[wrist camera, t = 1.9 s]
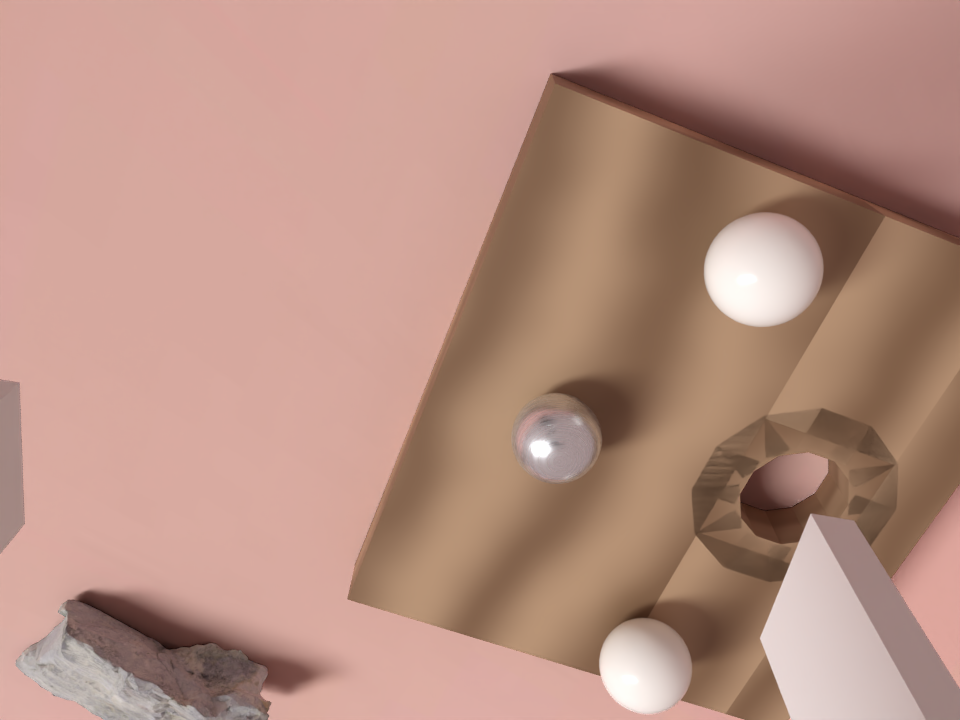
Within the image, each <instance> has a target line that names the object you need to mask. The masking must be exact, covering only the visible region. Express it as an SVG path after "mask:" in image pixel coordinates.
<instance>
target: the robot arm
mask: <svg viewBox="0 0 960 720" xmlns="http://www.w3.org/2000/svg"><path fill="white" fill-rule="evenodd" d="M24 524H25V517H24V490H23V463H22V436H21V409H20V383H19V382H13V381H7V380H1V379H0V554H1V552H2V551H3V550H4V549H5V548H6V546H7V545H8V544H9V543H10V541H11V540H12V539H13V538H14V536H15V535H16V534H17V533H18V532H19V530H20V529H21V528H22V527H23V525H24ZM760 640H761V642H762V645H763V648H764V650H765V653H766V655H767V658H768V661H769V663H770V666H771V668H772V671H773V674H774V676H775V679H776V681H777V684H778V687H779V689H780V692H781V694H782V697H783V700H784V702H785V705H786V707H787V710H788V713H789V715H790V718H791V720H960V689H959V687H958V685H957V684H956V682H955V681H954V679H953V677H952V676H951V674H950V673H949V671H948V669H947V668H946V666H945V665H944V663H943V661H942V660H941V658H940V657H939V655H938V654H937V652H936V650H935V649H934V647H933V646H932V644H931V642H930V641H929V639H928V638H927V636H926V634H925V633H924V631H923V630H922V628H921V626H920V625H919V623H918V622H917V620H916V618H915V617H914V615H913V614H912V612H911V610H910V609H909V607H908V606H907V604H906V603H905V601H904V599H903V598H902V596H901V595H900V593H899V591H898V590H897V588H896V587H895V585H894V583H893V582H892V580H891V579H890V577H889V575H888V574H887V572H886V571H885V569H884V567H883V566H882V564H881V563H880V561H879V559H878V558H877V556H876V555H875V553H874V551H873V550H872V548H871V547H870V545H869V544H868V542H867V540H866V539H865V537H864V536H863V534H862V532H861V531H860V529H859V528H858V526H857V524H856V523H855V521H853V520H847V519H841V518H835V517H829V516H823V515H817V514H810V516H809V519H808V521H807V524H806V526H805V529H804V531H803V534H802V536H801V538H800V541H799V543H798V546H797V548H796V551H795V553H794V556H793V558H792V561H791V563H790V565H789V568H788V570H787V573H786V575H785V578H784V580H783V583H782V585H781V588H780V590H779V593H778V595H777V597H776V600H775V602H774V605H773V607H772V610H771V612H770V615H769V617H768V620H767V622H766V624H765V627H764V629H763V632H762V634H761V637H760Z"/></svg>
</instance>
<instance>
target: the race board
mask: <svg viewBox="0 0 960 720" xmlns="http://www.w3.org/2000/svg"><path fill="white" fill-rule="evenodd" d="M760 212H772V213H778V214H782V215H785V216H788V217H790V218H793V219H795V220H796V221H798V222H799V223H801V224H802V225H804V226H805V227H806V228H807V229H808V230H809V231H810V233H811V234H812V235H813V236H814V238H815V239H816V241H817V243H818V245H819V247H820V250H821V253H822V257H823V265H824V271H823V279H822V283H821V286H820V289H819V291H818V293H817V295H816V297H815V299H814V300H813V302H812V303H811V304H810V305H809V306H808V308H807V309H806V310H804V311H803V312H802V313H801V314H800V315H798V316H797V317H795V318H794V319H792V320H790V321H788V322H785V323H783V324H780V325H775V326H770V327H754V326H748V325H745V324H741V323H739V322H736V321H734V320H733V319H731V318H729V317H728V316H726V315H725V314H724V313H723V312H721V311H720V310H719V308H718V307H717V306H716V305H715V304H714V302H713V301H712V299H711V298H710V296H709V293H708V291H707V288H706V285H705V280H704V263H705V258H706V254H707V252H708V249H709V247H710V245H711V243H712V241H713V240H714V238H715V237H716V236H717V234H718V233H719V232H720V231H721V230H722V229H723V228H724V227H726V226H727V225H728V224H729V223H731V222H733V221H734V220H736V219H738V218H740V217H743V216H746V215H749V214H753V213H760ZM550 393H562V394H567V395H571V396H573V397H576V398H578V399H579V400H581V401H583V402H584V403H585V404H586V405H588V406H589V407H590V408H591V410H592V411H593V412H594V414H595V415H596V417H597V419H598V422H599V424H600V427H601V432H602V446H601V450H600V454H599V456H598V458H597V461H596V462H595V464H594V465H593V467H592V468H591V469H590V470H589V471H588V472H587V473H586V474H585V475H583V476H582V477H580V478H578V479H577V480H574V481H572V482H568V483H563V484H551V483H546V482H542V481H540V480H537V479H535V478H534V477H532V476H531V475H529V474H528V473H527V472H526V471H525V470H524V469H523V468H522V467H521V466H520V464H519V463H518V461H517V460H516V457H515V455H514V453H513V449H512V443H511V433H512V427H513V424H514V421H515V419H516V417H517V415H518V414H519V412H520V411H521V409H522V408H523V407H524V406H525V405H526V404H527V403H529V402H530V401H532V400H533V399H535V398H537V397H539V396H542V395H545V394H550ZM806 452H809V453H812V454H815V455H818V456H821V457H824V458H826V459H828V474H827V476H826V477H825V479H824V480H823V482H822V483H821V485H820V486H819V488H818V490H817V491H816V493H815V494H814V495H812V496H810V497H809V498H807V499H805V500H804V501H802V502H800V503H799V504H797V505H795V506H794V507H792V508H785V509H777V510H769V511H764V510H761V509H758V508H755V507H752V506H749V505H746V504H743V503H741V502H740V493H741V492H742V490H743V488H744V487H745V485H746V483H747V482H748V480H749V478H750V477H751V475H752V473H753V472H754V471H755V470H757V469H759V468H760V467H762V466H763V465H765V464H767V463H768V462H770V461H772V460H773V459H775V458H776V457H778V456H783V455H790V454H798V453H806ZM959 484H960V238H958V237H955V236H953V235H950V234H948V233H945V232H943V231H940V230H938V229H935V228H933V227H930V226H928V225H925V224H923V223H920V222H918V221H915V220H913V219H911V218H908V217H906V216H903V215H901V214H898V213H896V212H893V211H891V210H888V209H886V208H883V207H881V206H878V205H876V204H873V203H871V202H868V201H866V200H863V199H861V198H858V197H856V196H853V195H851V194H849V193H846V192H844V191H841V190H839V189H836V188H834V187H831V186H829V185H826V184H824V183H821V182H819V181H816V180H814V179H811V178H809V177H806V176H804V175H801V174H799V173H796V172H794V171H791V170H789V169H786V168H784V167H782V166H779V165H777V164H774V163H772V162H769V161H767V160H764V159H762V158H759V157H757V156H754V155H752V154H749V153H747V152H744V151H742V150H739V149H737V148H734V147H732V146H729V145H727V144H724V143H722V142H720V141H717V140H715V139H712V138H710V137H707V136H705V135H702V134H700V133H697V132H695V131H692V130H690V129H687V128H685V127H682V126H680V125H677V124H675V123H672V122H670V121H667V120H665V119H662V118H660V117H657V116H655V115H653V114H650V113H648V112H645V111H643V110H640V109H638V108H635V107H633V106H630V105H628V104H625V103H623V102H620V101H618V100H615V99H613V98H610V97H608V96H605V95H603V94H600V93H598V92H595V91H593V90H591V89H588V88H586V87H583V86H581V85H578V84H576V83H573V82H571V81H568V80H566V79H563V78H561V77H558V76H556V75H553V74H550V77H549V79H548V82H547V84H546V87H545V89H544V92H543V94H542V97H541V99H540V102H539V104H538V107H537V109H536V112H535V114H534V117H533V119H532V122H531V124H530V127H529V129H528V132H527V134H526V137H525V140H524V142H523V145H522V147H521V150H520V152H519V155H518V157H517V160H516V162H515V165H514V167H513V170H512V172H511V175H510V177H509V180H508V182H507V185H506V187H505V190H504V192H503V195H502V197H501V200H500V202H499V205H498V207H497V210H496V212H495V215H494V217H493V220H492V222H491V225H490V227H489V230H488V232H487V235H486V237H485V240H484V242H483V245H482V247H481V250H480V252H479V255H478V257H477V260H476V262H475V265H474V267H473V270H472V272H471V275H470V277H469V280H468V282H467V285H466V287H465V290H464V292H463V295H462V297H461V300H460V302H459V305H458V308H457V310H456V313H455V315H454V318H453V320H452V323H451V325H450V328H449V330H448V333H447V335H446V338H445V340H444V343H443V345H442V348H441V350H440V353H439V355H438V358H437V360H436V363H435V365H434V368H433V370H432V373H431V375H430V378H429V380H428V383H427V385H426V388H425V390H424V393H423V395H422V398H421V400H420V403H419V405H418V408H417V410H416V413H415V415H414V418H413V420H412V423H411V425H410V428H409V430H408V433H407V435H406V438H405V440H404V443H403V445H402V448H401V450H400V453H399V455H398V458H397V460H396V463H395V465H394V468H393V470H392V473H391V475H390V478H389V481H388V483H387V486H386V488H385V491H384V493H383V496H382V498H381V501H380V503H379V506H378V508H377V511H376V513H375V516H374V518H373V521H372V523H371V526H370V528H369V531H368V533H367V536H366V538H365V541H364V543H363V546H362V548H361V551H360V553H359V556H358V558H357V561H356V563H355V567H354V572H353V576H352V581H351V585H350V590H349V594H348V600H351V601H355V602H358V603H361V604H365V605H368V606H371V607H374V608H378V609H381V610H384V611H388V612H391V613H394V614H398V615H401V616H404V617H408V618H411V619H414V620H417V621H421V622H424V623H427V624H431V625H434V626H437V627H441V628H444V629H447V630H450V631H454V632H457V633H460V634H464V635H467V636H470V637H474V638H477V639H480V640H483V641H487V642H490V643H493V644H497V645H500V646H503V647H507V648H510V649H513V650H516V651H520V652H523V653H526V654H530V655H533V656H536V657H540V658H543V659H546V660H550V661H553V662H556V663H559V664H563V665H566V666H569V667H573V668H576V669H579V670H583V671H586V672H589V673H592V674H596V675H599V676H601V674H600V669H599V658H600V652H601V648H602V645H603V643H604V641H605V639H606V638H607V636H608V635H609V634H610V632H611V631H612V630H613V629H614V628H616V627H617V626H618V625H620V624H621V623H623V622H625V621H628V620H631V619H635V618H651V619H655V620H658V621H661V622H663V623H665V624H667V625H669V626H670V627H671V628H673V629H674V630H675V631H676V632H677V633H678V634H679V635H680V636H681V638H682V639H683V640H684V642H685V644H686V646H687V647H688V650H689V653H690V656H691V661H692V677H691V682H690V685H689V687H688V690H687V692H686V694H685V695H684V696H683V698H682V699H681V700H682V701H685V702H688V703H692V704H695V705H698V706H701V707H705V708H708V709H711V710H715V711H718V712H721V713H725V714H728V715H731V716H734V717H738V718H741V719H744V720H789V719H790V715H789V713H788V710H787V707H786V705H785V702H784V700H783V697H782V694H781V692H780V689H779V687H778V684H777V681H776V679H775V676H774V674H773V671H772V668H771V666H770V663H769V661H768V658H767V655H766V653H765V650H764V648H763V645H762V642H761V640H760V637H761V634H762V632H763V629H764V627H765V624H766V622H767V620H768V617H769V615H770V612H771V610H772V607H773V605H774V602H775V600H776V597H777V595H778V593H779V590H780V588H781V585H782V583H783V580H784V578H785V575H786V573H787V570H788V568H789V565H790V563H791V561H792V558H793V556H794V553H795V551H796V548H797V546H798V543H799V541H800V538H801V536H802V534H803V531H804V529H805V526H806V524H807V521H808V519H809V516H810V514H817V515H823V516H829V517H835V518H841V519H847V520H853V521H855V523H856V524H857V526H858V528H859V529H860V531H861V532H862V534H863V536H864V537H865V539H866V540H867V542H868V544H869V545H870V547H871V548H872V550H873V551H874V553H875V555H876V556H877V558H878V559H879V561H880V563H881V564H882V566H883V567H884V569H885V571H886V572H887V574H888V575H889V577H890V579H891V578H892V576H893V575H894V574H895V572H896V571H897V569H898V568H899V567H900V565H901V564H902V563H903V561H904V560H905V558H906V557H907V556H908V554H909V553H910V552H911V550H912V549H913V547H914V546H915V545H916V543H917V542H918V540H919V539H920V538H921V536H922V535H923V534H924V532H925V531H926V529H927V528H928V527H929V525H930V524H931V523H932V521H933V520H934V518H935V517H936V516H937V514H938V513H939V511H940V510H941V509H942V507H943V506H944V505H945V503H946V502H947V500H948V499H949V498H950V496H951V495H952V494H953V492H954V491H955V489H956V488H957V487H958V485H959Z"/></svg>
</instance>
